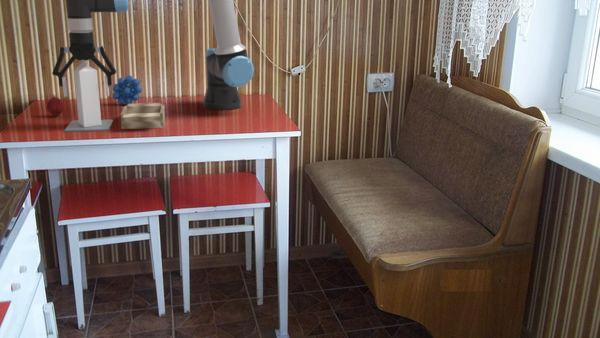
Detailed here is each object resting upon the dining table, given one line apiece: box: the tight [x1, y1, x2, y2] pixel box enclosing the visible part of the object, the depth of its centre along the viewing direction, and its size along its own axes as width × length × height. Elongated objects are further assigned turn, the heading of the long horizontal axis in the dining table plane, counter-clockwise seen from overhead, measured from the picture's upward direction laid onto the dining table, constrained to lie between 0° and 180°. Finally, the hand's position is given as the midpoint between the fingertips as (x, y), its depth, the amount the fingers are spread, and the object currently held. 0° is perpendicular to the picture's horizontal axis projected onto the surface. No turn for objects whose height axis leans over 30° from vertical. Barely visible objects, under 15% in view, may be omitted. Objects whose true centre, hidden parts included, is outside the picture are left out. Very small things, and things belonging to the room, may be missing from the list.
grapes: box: [112, 75, 143, 106], centre depth 241 cm, size 12×7×12 cm, turn 97°
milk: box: [73, 60, 102, 127], centre depth 205 cm, size 6×6×22 cm
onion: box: [46, 94, 65, 118], centre depth 221 cm, size 6×6×8 cm
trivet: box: [64, 119, 114, 133], centre depth 208 cm, size 14×14×1 cm
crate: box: [120, 102, 166, 130], centre depth 213 cm, size 14×22×5 cm, turn 10°
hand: (87, 95), depth 205 cm, fingers open, 13 cm apart
